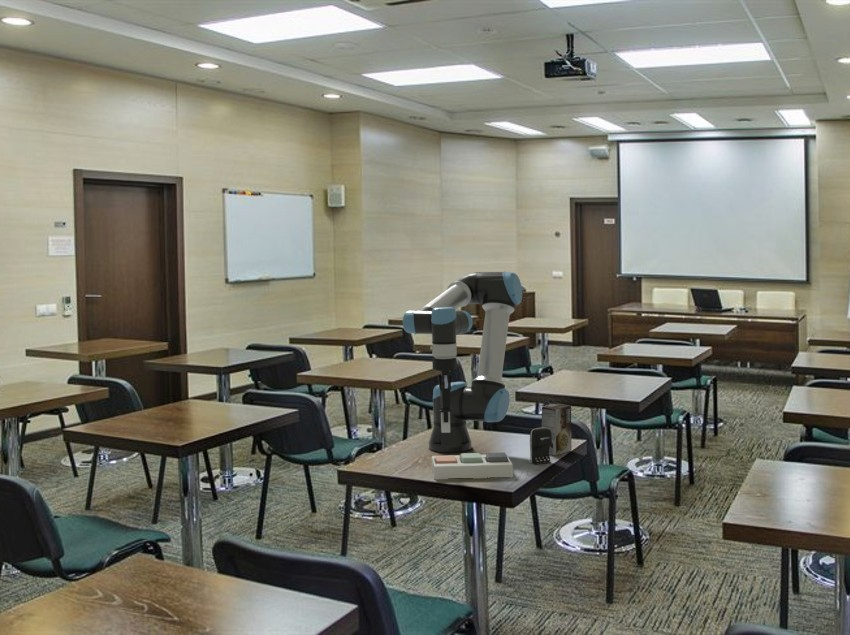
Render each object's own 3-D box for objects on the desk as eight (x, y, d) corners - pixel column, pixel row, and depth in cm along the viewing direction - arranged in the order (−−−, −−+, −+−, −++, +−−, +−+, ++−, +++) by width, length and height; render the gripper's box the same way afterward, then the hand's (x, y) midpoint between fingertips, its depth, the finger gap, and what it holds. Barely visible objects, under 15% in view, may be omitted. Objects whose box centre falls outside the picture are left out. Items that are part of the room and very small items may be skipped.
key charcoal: (486, 462, 269) (486, 452, 269) (504, 461, 270) (504, 452, 269) (488, 466, 263) (488, 457, 263) (507, 466, 264) (507, 456, 263)
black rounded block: (536, 465, 274) (536, 430, 273) (529, 463, 277) (529, 428, 276) (553, 462, 277) (553, 428, 277) (546, 460, 281) (546, 426, 280)
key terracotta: (435, 465, 269) (435, 456, 268) (454, 465, 269) (454, 456, 269) (436, 470, 263) (436, 461, 262) (456, 470, 263) (456, 460, 263)
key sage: (460, 462, 269) (460, 453, 269) (479, 462, 269) (479, 452, 269) (462, 467, 263) (462, 457, 263) (481, 466, 263) (481, 457, 263)
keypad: (431, 468, 273) (431, 454, 272) (506, 466, 274) (506, 453, 273) (434, 479, 259) (434, 465, 258) (512, 477, 260) (512, 463, 260)
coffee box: (557, 448, 298) (556, 402, 297) (572, 451, 294) (572, 404, 292) (540, 452, 292) (540, 406, 291) (556, 455, 287) (556, 408, 286)
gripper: (431, 354, 270) (432, 428, 272) (433, 360, 257) (435, 437, 259) (454, 354, 270) (456, 427, 272) (458, 359, 257) (459, 436, 259)
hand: (445, 432), depth 265 cm, fingers closed
